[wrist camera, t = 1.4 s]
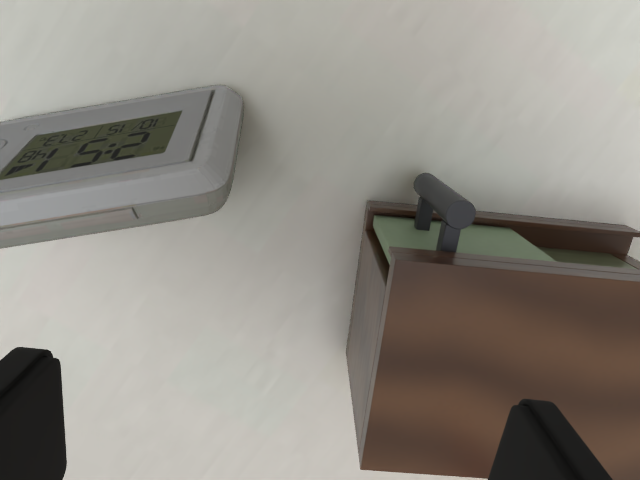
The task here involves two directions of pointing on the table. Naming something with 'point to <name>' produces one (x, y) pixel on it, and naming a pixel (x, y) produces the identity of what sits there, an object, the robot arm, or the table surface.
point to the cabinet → (494, 345)
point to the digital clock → (118, 165)
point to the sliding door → (450, 227)
